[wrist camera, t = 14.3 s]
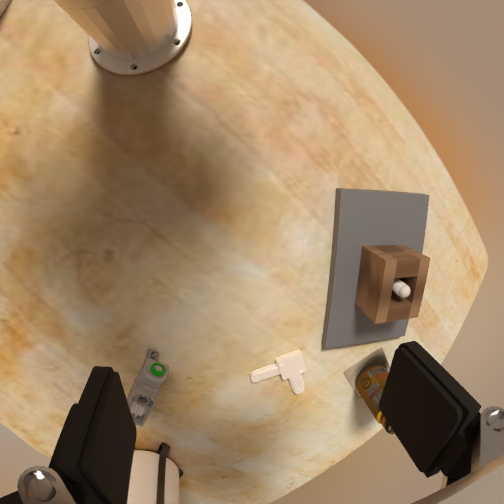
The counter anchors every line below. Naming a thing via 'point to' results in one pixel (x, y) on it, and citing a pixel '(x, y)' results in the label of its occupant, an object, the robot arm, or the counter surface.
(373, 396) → the condiment
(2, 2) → the supplement box
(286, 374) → the corner connector
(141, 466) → the coffee press
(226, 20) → the counter surface
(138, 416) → the mechanical component
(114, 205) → the counter surface
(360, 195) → the pin board
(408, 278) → the hollow block
